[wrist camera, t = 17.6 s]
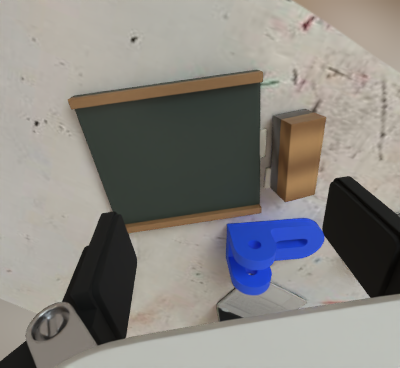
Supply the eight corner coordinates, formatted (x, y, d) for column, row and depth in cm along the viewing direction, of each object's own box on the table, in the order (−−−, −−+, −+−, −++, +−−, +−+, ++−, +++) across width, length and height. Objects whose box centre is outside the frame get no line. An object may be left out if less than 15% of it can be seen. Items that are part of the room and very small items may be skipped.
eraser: (273, 115, 35) (291, 124, 32) (305, 108, 36) (326, 117, 33) (270, 187, 42) (285, 202, 38) (297, 180, 43) (314, 194, 39)
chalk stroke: (258, 128, 37) (260, 130, 37) (265, 127, 37) (266, 129, 37) (257, 156, 40) (258, 157, 39) (264, 155, 40) (265, 156, 39)
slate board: (73, 95, 33) (67, 99, 31) (257, 69, 33) (263, 71, 31) (121, 226, 44) (118, 234, 42) (257, 205, 44) (261, 213, 43)
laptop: (307, 299, 60) (337, 359, 49) (269, 326, 65) (289, 387, 54) (253, 271, 53) (274, 335, 42) (215, 304, 58) (225, 369, 47)
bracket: (225, 256, 50) (235, 297, 43) (227, 223, 46) (238, 262, 38) (313, 249, 52) (338, 287, 44) (323, 216, 47) (352, 252, 40)
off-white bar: (273, 168, 40) (271, 167, 41) (266, 169, 40) (265, 167, 41) (270, 188, 42) (268, 186, 43) (264, 188, 42) (262, 186, 43)
